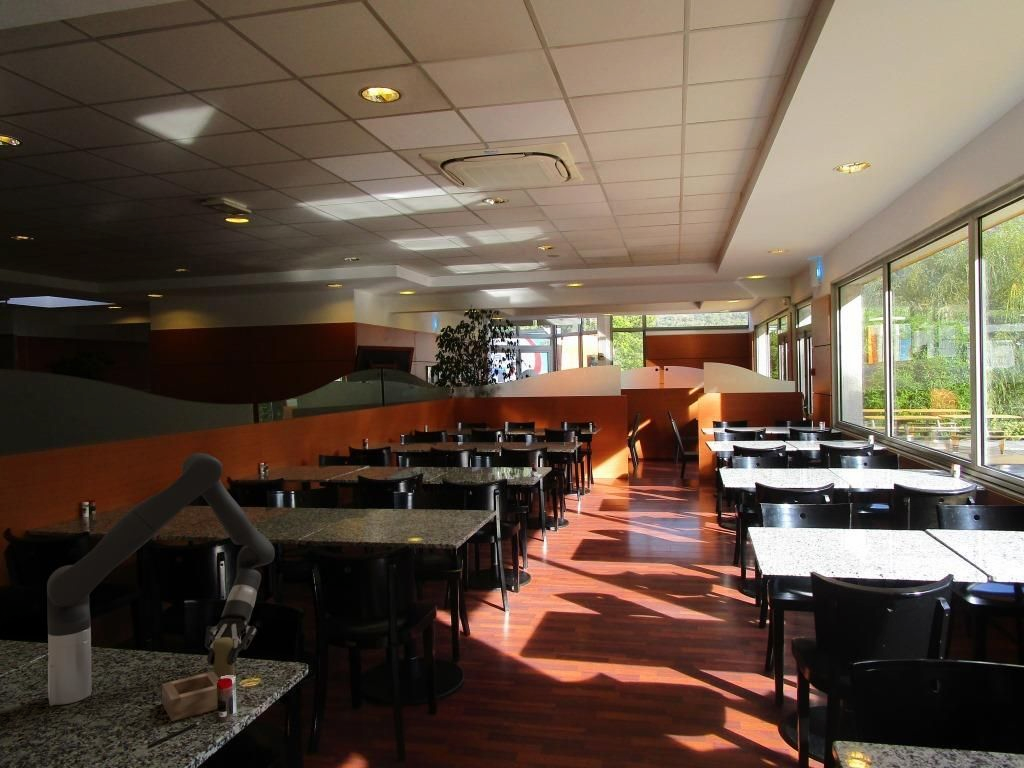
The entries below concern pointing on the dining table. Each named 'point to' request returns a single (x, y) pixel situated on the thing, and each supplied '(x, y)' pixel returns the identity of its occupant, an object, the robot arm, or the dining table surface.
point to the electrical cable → (172, 735)
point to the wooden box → (190, 695)
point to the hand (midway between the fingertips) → (220, 663)
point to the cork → (223, 657)
